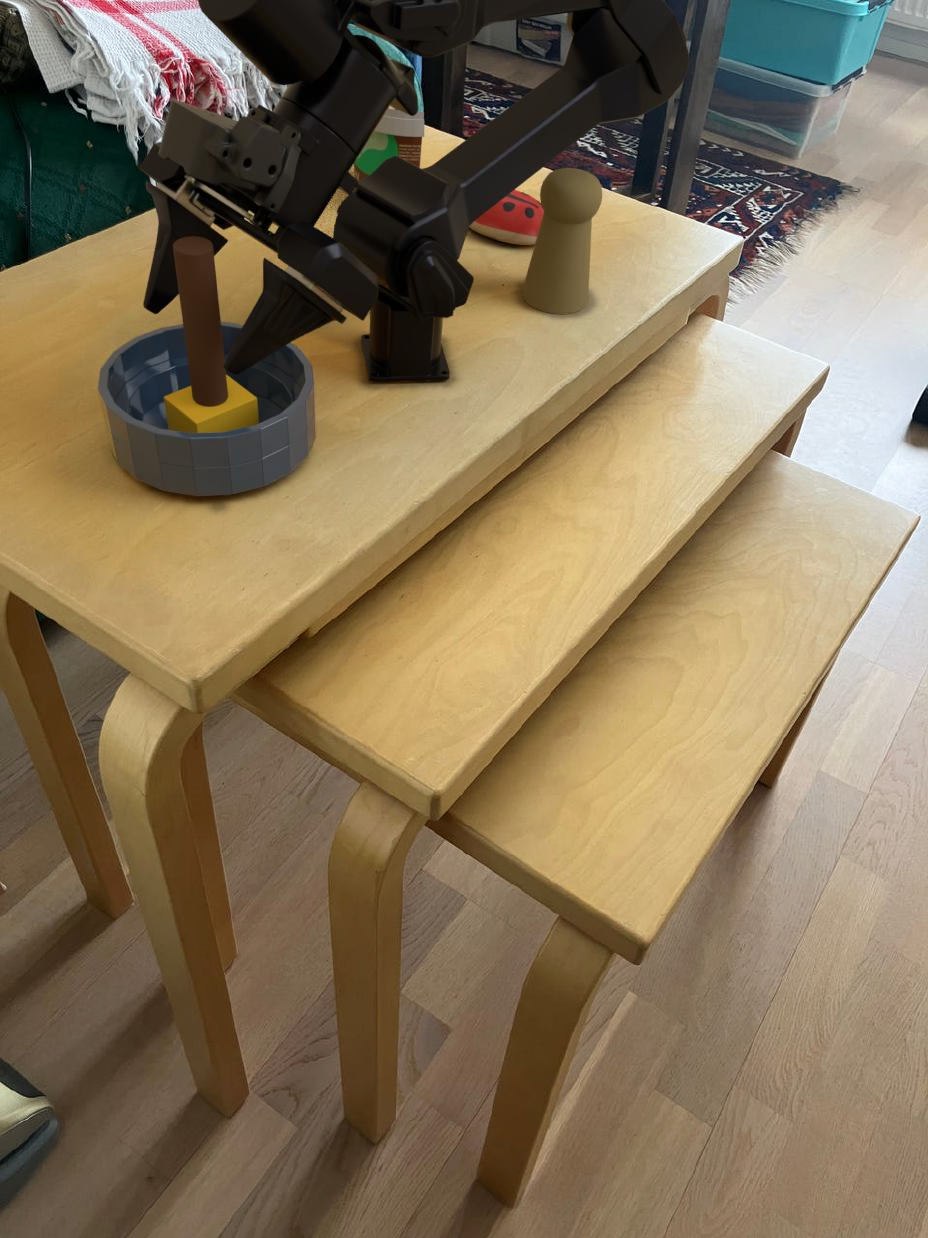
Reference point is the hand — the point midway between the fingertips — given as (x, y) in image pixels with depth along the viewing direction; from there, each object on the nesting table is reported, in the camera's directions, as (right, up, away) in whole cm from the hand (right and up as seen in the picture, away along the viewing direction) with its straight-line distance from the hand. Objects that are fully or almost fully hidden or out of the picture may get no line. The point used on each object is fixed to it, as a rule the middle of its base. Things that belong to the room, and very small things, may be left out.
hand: (187, 340), depth 66 cm
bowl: (0, -5, +7) cm, 9 cm away
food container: (+9, +25, +37) cm, 46 cm away
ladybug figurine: (+22, +20, +34) cm, 45 cm away
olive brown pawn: (+26, +11, +26) cm, 38 cm away
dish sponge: (0, -5, +6) cm, 8 cm away
